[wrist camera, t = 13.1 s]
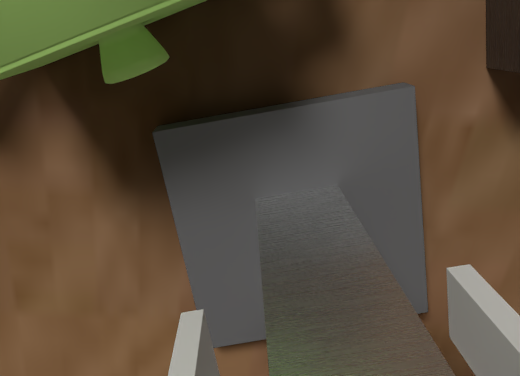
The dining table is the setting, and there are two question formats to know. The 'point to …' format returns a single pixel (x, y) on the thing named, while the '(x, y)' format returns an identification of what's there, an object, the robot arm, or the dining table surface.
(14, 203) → the dining table surface
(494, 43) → the grey block with hole
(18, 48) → the green block with pegs
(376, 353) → the steel peg
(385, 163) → the rubber mat
